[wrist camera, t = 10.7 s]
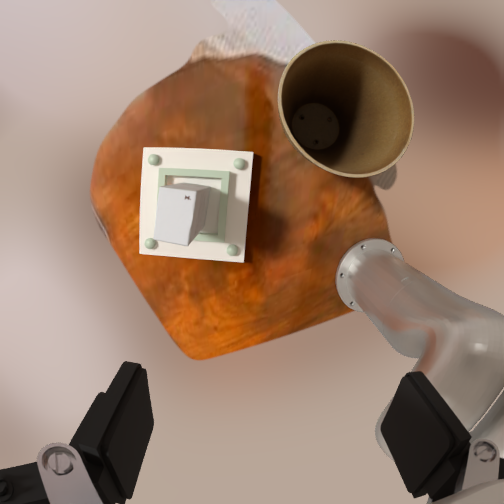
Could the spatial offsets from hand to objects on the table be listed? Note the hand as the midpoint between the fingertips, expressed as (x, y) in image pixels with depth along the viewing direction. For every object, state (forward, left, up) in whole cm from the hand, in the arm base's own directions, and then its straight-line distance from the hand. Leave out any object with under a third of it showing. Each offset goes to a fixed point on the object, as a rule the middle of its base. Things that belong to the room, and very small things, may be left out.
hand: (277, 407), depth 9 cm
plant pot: (-8, -16, -36) cm, 41 cm away
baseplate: (+9, -3, -36) cm, 38 cm away
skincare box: (+9, -3, -35) cm, 36 cm away
